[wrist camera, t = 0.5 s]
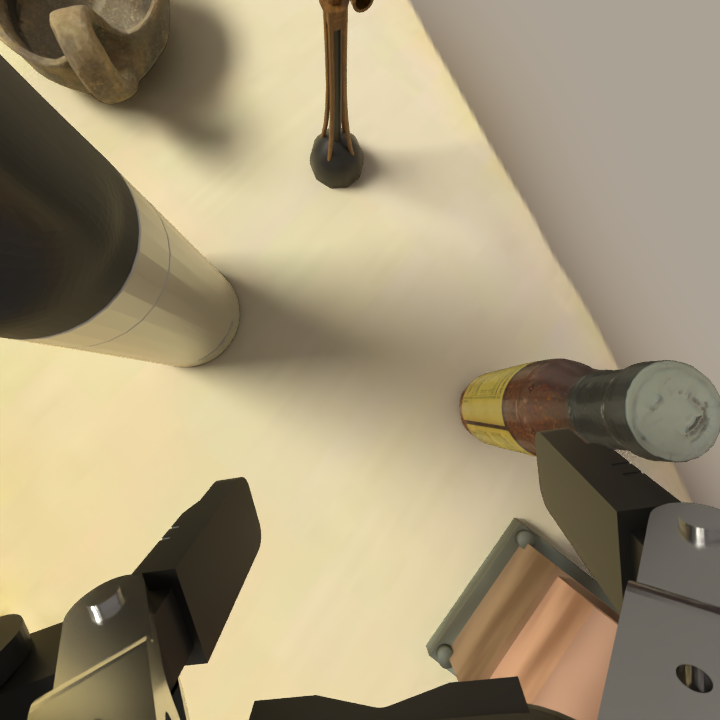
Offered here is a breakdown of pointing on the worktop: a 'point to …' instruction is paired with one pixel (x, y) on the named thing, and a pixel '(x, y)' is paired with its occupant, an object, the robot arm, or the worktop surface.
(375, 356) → the worktop surface
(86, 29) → the bowl
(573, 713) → the copper and grey block
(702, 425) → the sauce bottle
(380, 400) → the worktop surface
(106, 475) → the worktop surface
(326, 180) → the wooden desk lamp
